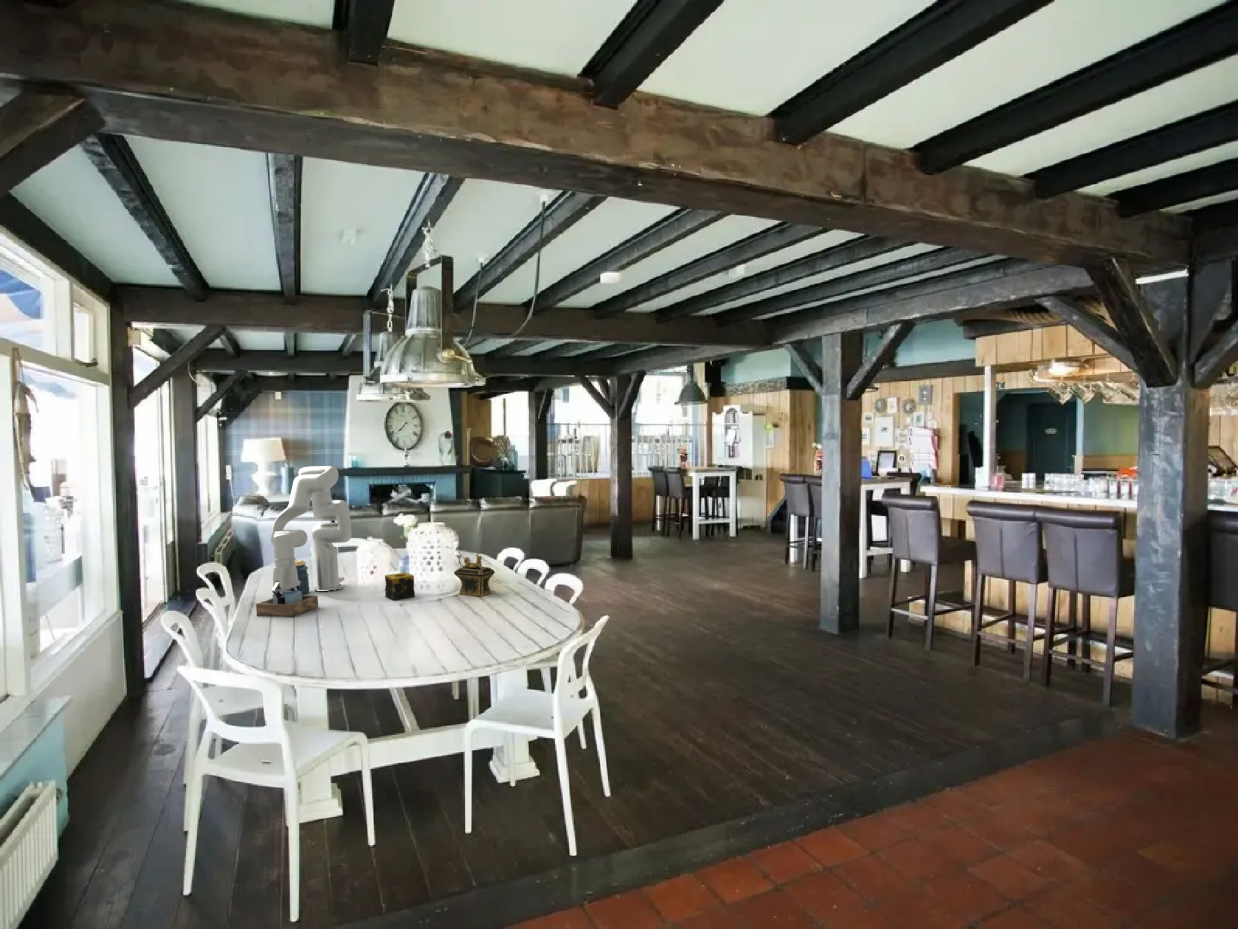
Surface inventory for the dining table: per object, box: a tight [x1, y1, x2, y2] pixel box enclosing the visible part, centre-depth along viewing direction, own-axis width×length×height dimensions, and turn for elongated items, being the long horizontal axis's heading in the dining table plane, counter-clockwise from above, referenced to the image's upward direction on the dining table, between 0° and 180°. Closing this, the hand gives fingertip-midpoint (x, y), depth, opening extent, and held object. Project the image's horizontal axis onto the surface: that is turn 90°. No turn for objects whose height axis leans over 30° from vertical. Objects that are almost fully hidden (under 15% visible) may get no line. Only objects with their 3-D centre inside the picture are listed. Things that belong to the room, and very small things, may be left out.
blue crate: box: [272, 591, 302, 605], centre depth 301 cm, size 6×9×6 cm
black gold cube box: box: [384, 572, 415, 601], centre depth 320 cm, size 10×10×10 cm
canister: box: [280, 558, 310, 595], centre depth 333 cm, size 13×13×18 cm
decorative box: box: [453, 548, 495, 597], centre depth 322 cm, size 20×10×20 cm, turn 60°
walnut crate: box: [255, 594, 319, 618], centre depth 301 cm, size 16×18×5 cm
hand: (287, 604), depth 302 cm, fingers closed on blue crate, 6 cm apart
